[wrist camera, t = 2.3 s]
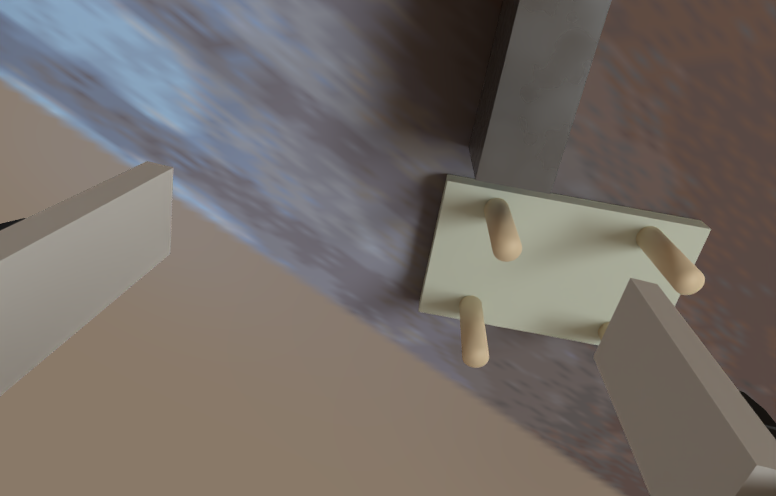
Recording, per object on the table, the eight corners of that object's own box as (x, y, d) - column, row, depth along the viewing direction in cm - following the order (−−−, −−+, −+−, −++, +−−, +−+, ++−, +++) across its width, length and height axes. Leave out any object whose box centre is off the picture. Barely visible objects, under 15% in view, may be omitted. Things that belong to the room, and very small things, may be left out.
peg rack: (419, 300, 39) (415, 363, 32) (447, 174, 35) (449, 215, 28) (644, 342, 39) (687, 414, 32) (700, 220, 34) (764, 273, 28)
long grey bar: (541, 160, 34) (565, 196, 27) (456, 145, 34) (460, 177, 27) (637, -162, 26) (700, -214, 20) (528, -181, 26) (556, -238, 20)
